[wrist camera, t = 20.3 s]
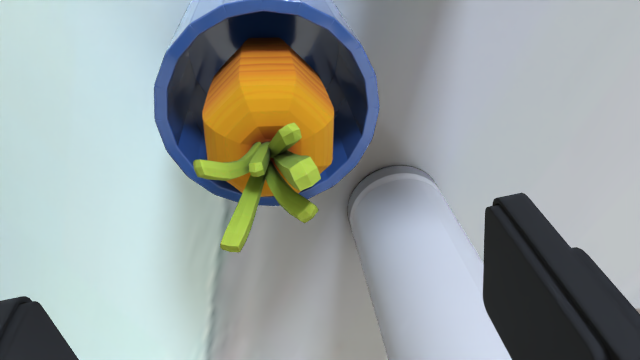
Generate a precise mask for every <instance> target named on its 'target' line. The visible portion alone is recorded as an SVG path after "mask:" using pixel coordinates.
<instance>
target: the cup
mask: <svg viewBox="0 0 640 360" xmlns="http://www.w3.org/2000/svg"><path fill="white" fill-rule="evenodd" d="M277 37H279V38H280V39H282V40H283V41H284V42H285V43H286V44H287V45H288V46H290V47H291V48H292V49H293V50H294V51H295V52H296V53H297V54H298V55H299V56H300V57H301V58H302V59H303V60H304V61H305V62H306V63H307V64H308V65H309V66H310V67H311V68H312V69H313V70H314V71H315V72H316V73H317V74H318V76H319V78H320V79H321V81H322V83H323V85H324V87H325V89H326V91H327V94H328V96H329V98H330V101H331V103H332V105H333V108H334V133H333V160H332V163H331V165H329V166H328V167H327V168H326V169H325V170H324V171H323V172H322V173H321V174H320V177H321V179H320V180H319V181H318V182H316V183H315V184H314V185H313V186H311V187H309V188H307V189H304V190H302V191H301V192H299V193H298V194H300V195H301V196H303V197H305V198H306V199H309V198H311V197H313V196H315V195H317V194H319V193H321V192H323V191H325V190H327V189H329V188H331V187H333V186H334V185H336V184H337V183H338V182H339V181H340V180H341V179H342V178H343V177H344V176H346V175H347V174H348V173H349V172H350V171H351V170H352V169H353V168H354V167H355V166H356V165H357V164H358V162H359V161H360V159H361V157H362V156H363V154H364V152H365V151H366V149H367V147H368V146H369V144H370V142H371V140H372V138H373V135H374V130H375V126H376V121H377V117H378V113H379V97H378V88H377V79H376V74H375V72H374V70H373V68H372V65H371V63H370V61H369V59H368V57H367V55H366V53H365V51H364V49H363V47H362V45H361V43H360V42H359V40H358V39H357V37H356V36H355V34H354V33H353V31H352V30H351V28H350V26H349V25H348V23H347V22H346V20H345V19H344V17H343V16H342V14H341V13H340V11H339V10H338V8H337V7H336V5H335V4H334V2H333V1H332V0H193V1H192V2H191V3H190V4H189V6H188V8H187V10H186V12H185V14H184V16H183V18H182V20H181V22H180V24H179V26H178V28H177V30H176V32H175V34H174V36H173V38H172V41H171V43H170V45H169V47H168V49H167V51H166V53H165V55H164V58H163V61H162V64H161V67H160V70H159V72H158V75H157V78H156V81H155V84H154V85H155V86H154V116H155V122H156V125H157V127H158V130H159V133H160V135H161V138H162V141H163V143H164V146H165V149H166V150H167V152H168V153H169V155H170V156H171V157H172V158H173V160H174V161H175V162H176V163H177V164H178V166H179V167H180V168H181V169H182V171H183V172H184V173H185V174H186V175H187V176H188V177H189V178H190V179H192V180H193V181H195V182H196V183H198V184H199V185H201V186H202V187H204V188H205V189H207V190H208V191H210V192H211V193H213V194H215V195H217V196H220V197H223V198H226V199H229V200H232V201H235V202H239V200H240V198H241V196H242V192H240V191H239V190H238V189H236V188H235V187H234V186H232V185H231V184H230V183H228V182H227V181H222V180H210V179H204V178H200V177H197V175H196V172H195V170H194V165H193V162H194V161H195V160H199V159H201V160H207V152H206V143H205V135H204V126H203V117H202V111H203V108H204V104H205V101H206V97H207V94H208V91H209V88H210V85H211V83H212V80H213V77H214V76H215V74H216V73H217V72H218V71H219V69H220V68H221V67H222V66H223V65H224V64H225V63H226V62H227V60H228V59H229V58H230V57H231V56H232V55H233V54H234V53H235V52H236V51H237V50H238V49H239V48H240V47H241V45H242V44H243V43H244V42H245V41H246V40H247V39H248V38H277ZM258 205H263V206H275V205H276V206H280V204H279V203H278V202H277V200H276V199H275V197H274V196H266V197H260V200H259V203H258Z"/></svg>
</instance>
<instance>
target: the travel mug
mask: <svg viewBox="0 0 640 360" xmlns="http://www.w3.org/2000/svg"><path fill="white" fill-rule="evenodd" d="M348 218H349V222H350V226H351V229H352V232H353V236H354V240H355V243H356V247H357V251H358V254H359V258H360V261H361V265H362V268H363V272H364V275H365V279H366V282H367V286H368V290H369V293H370V297H371V300H372V304H373V307H374V311H375V314H376V318H377V321H378V325H379V328H380V332H381V336H382V339H383V343H384V346H385V350H386V353H387V357H388V360H512V359H511V357H510V355H509V353H508V351H507V349H506V348H505V346H504V344H503V342H502V340H501V338H500V336H499V334H498V333H497V331H496V329H495V327H494V325H493V323H492V321H491V319H490V318H489V316H488V314H487V312H486V309H485V306H484V302H483V269H484V263H483V261H482V260H481V258H480V256H479V255H478V253H477V251H476V250H475V248H474V246H473V245H472V243H471V241H470V240H469V238H468V236H467V235H466V233H465V231H464V230H463V228H462V226H461V225H460V223H459V221H458V220H457V218H456V216H455V215H454V213H453V211H452V210H451V208H450V206H449V205H448V203H447V201H446V200H445V198H444V197H443V195H442V193H441V191H440V190H439V188H438V186H437V185H436V183H435V182H434V180H433V179H432V178H431V177H430V176H429V175H428V174H427V173H425V172H423V171H422V170H420V169H417V168H414V167H410V166H391V167H387V168H383V169H381V170H378V171H376V172H374V173H372V174H370V175H369V176H367V177H366V178H365V179H364V180H363V181H361V182H360V183H359V184H358V186H357V187H356V188H355V190H354V191H353V193H352V195H351V197H350V199H349V203H348Z"/></svg>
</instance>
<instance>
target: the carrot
mask: <svg viewBox="0 0 640 360" xmlns="http://www.w3.org/2000/svg"><path fill="white" fill-rule="evenodd" d="M202 117H203V126H204V135H205V143H206V152H207V160H201V159H199V160H195V161H194V162H193V165H194V170H195V172H196V175H197V177H200V178H204V179H210V180H222V181H227V182H228V183H230V184H231V185H232V186H234V187H235V188H236V189H238V190H239V191H240V192H242V196H241V198H240V200H239V202H238V205H237V207H236V209H235V211H234V214H233V216H232V218H231V220H230V222H229V224H228V227H227V229H226V231H225V233H224V236H223V238H222V241H221V244H220V248H221V249H223V250H226V251H229V252H240V251H241V249H242V248H243V246H244V244H245V242H246V240H247V237H248V235H249V232H250V230H251V227H252V224H253V220H254V217H255V214H256V210H257V207H258V203H259V200H260V197H266V196H274V197H275V199H276V200H277V202H278V203H279V204H280V205H281V206H282V207H283V208H284V209H285V210H286V211H287V212H288V213H289V214H291V215H292V216H294V217H295V218H297V219H298V220H300V221H301V222H303V223H306V222H308V221H309V220H311V219H312V218H313V217H314V216H315V214H316V213H317V212H318V208H317V207H316V206H315V205H314V204H313V203H311V202H310V201H309V200H307V199H306V198H305V197H303V196H301V195H300V194H298V193H299V192H301V191H302V190H304V189H307V188H309V187H311V186H313V185H314V184H315V183H316V182H318V181H319V180H320V179H321V177H320V174H321V173H322V172H323V171H324V170H325V169H326V168H327V167H328V166H329V165H331V163H332V160H333V133H334V108H333V105H332V103H331V101H330V98H329V96H328V94H327V91H326V89H325V87H324V85H323V83H322V81H321V79H320V78H319V76H318V74H317V73H316V72H315V71H314V70H313V69H312V68H311V67H310V66H309V65H308V64H307V63H306V62H305V61H304V60H303V59H302V58H301V57H300V56H299V55H298V54H297V53H296V52H295V51H294V50H293V49H292V48H291V47H290V46H288V45H287V44H286V43H285V42H284V41H283V40H282V39H280V38H279V37H277V38H248V39H247V40H246V41H245V42H244V43H243V44H242V45H241V47H240V48H239V49H238V50H237V51H236V52H235V53H234V54H233V55H232V56H231V57H230V58H229V59H228V60H227V62H226V63H225V64H224V65H223V66H222V67H221V68H220V69H219V71H218V72H217V73H216V74H215V76H214V77H213V80H212V83H211V85H210V88H209V91H208V94H207V97H206V101H205V104H204V108H203V111H202Z"/></svg>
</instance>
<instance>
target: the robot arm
mask: <svg viewBox="0 0 640 360" xmlns="http://www.w3.org/2000/svg"><path fill="white" fill-rule="evenodd" d="M483 302H484V306H485V309H486V312H487V314H488V316H489V318H490V319H491V321H492V323H493V325H494V327H495V329H496V331H497V333H498V334H499V336H500V338H501V340H502V342H503V344H504V346H505V348H506V349H507V351H508V353H509V355H510V357H511V359H512V360H640V314H639V313H638V312H637V311H636V309H635V308H634V307H633V306H632V305H631V304H630V303H629V301H628V300H627V299H626V298H625V297H624V296H623V295H622V293H621V292H620V291H619V290H618V289H617V288H616V286H615V285H614V284H613V283H612V282H611V281H610V280H609V278H608V277H607V276H606V275H605V274H604V273H603V272H602V270H601V269H600V268H599V267H598V266H597V265H596V264H595V262H594V261H593V260H592V259H591V258H590V257H589V255H587V254H586V253H585V252H584V251H583V250H582V249H579V248H577V247H576V248H571V247H570V246H569V245H568V244H567V243H566V241H565V240H564V239H563V238H562V237H561V236H560V234H559V233H558V232H557V231H556V230H555V228H554V227H553V226H552V225H551V224H550V222H549V221H548V220H547V219H546V218H545V217H544V215H543V214H542V213H541V212H540V211H539V209H538V208H537V207H536V206H535V205H534V203H533V202H532V201H531V200H530V199H529V198H528V196H527V195H525V194H524V193H519V194H514V195H509V196H504V197H499V198H496V199H494V201H493V206H490V207H487V208H486V210H485V235H484V269H483ZM0 360H79V359H78V358H77V356H76V355H75V354H74V352H73V351H72V349H71V348H70V346H69V345H68V343H67V342H66V341H65V339H64V338H63V336H62V335H61V333H60V332H59V330H58V329H57V327H56V326H55V325H54V323H53V322H52V320H51V319H50V317H49V316H48V314H47V313H46V312H45V310H44V309H43V307H42V306H41V305H40V303H38V302H36V301H34V302H33V301H32V300H31V299H30V298H28V297H26V296H25V297H18V298H13V299H8V300H3V301H0Z"/></svg>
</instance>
